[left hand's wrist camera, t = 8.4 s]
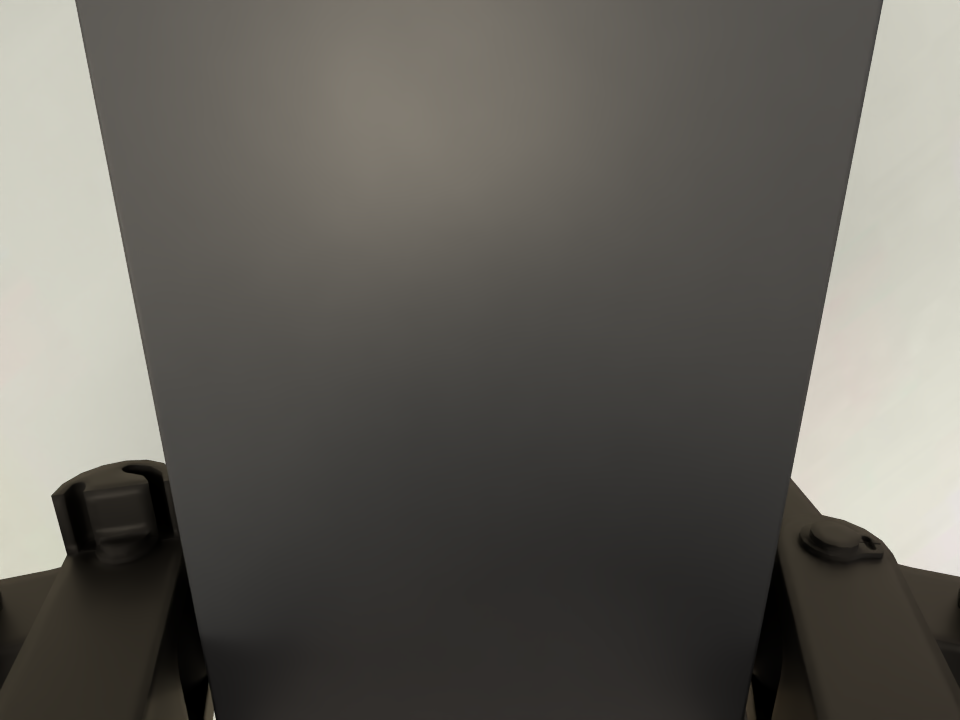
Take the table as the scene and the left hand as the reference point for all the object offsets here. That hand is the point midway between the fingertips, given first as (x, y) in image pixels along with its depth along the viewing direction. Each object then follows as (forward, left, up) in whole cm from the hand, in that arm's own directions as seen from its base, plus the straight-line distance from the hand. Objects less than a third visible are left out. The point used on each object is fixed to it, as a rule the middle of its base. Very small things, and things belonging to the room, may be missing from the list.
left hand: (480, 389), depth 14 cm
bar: (+7, +2, 0) cm, 8 cm away
